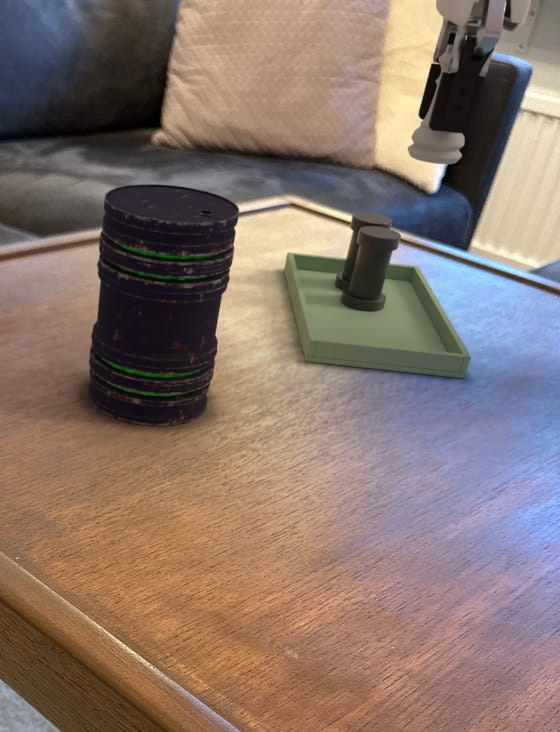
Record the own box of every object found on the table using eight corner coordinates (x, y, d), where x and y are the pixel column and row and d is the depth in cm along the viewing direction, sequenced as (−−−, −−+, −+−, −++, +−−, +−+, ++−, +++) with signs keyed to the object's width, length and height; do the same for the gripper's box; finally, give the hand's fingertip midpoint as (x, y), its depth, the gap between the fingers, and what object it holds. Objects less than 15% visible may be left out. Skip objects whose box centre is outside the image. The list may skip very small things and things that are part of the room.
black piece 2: (380, 298, 101) (399, 228, 97) (386, 313, 98) (406, 241, 93) (337, 294, 101) (354, 223, 97) (342, 309, 98) (360, 236, 93)
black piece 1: (372, 282, 105) (390, 214, 101) (379, 296, 102) (398, 226, 97) (331, 278, 105) (348, 209, 101) (336, 292, 102) (353, 221, 97)
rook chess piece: (402, 149, 83) (430, 40, 78) (455, 155, 83) (486, 46, 78) (409, 161, 80) (439, 48, 75) (464, 167, 80) (498, 54, 75)
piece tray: (413, 284, 107) (418, 266, 106) (464, 378, 87) (471, 357, 86) (283, 270, 107) (287, 252, 106) (305, 361, 88) (310, 339, 86)
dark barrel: (61, 397, 78) (74, 198, 69) (131, 362, 84) (152, 176, 75) (165, 439, 74) (194, 233, 64) (230, 399, 80) (266, 207, 71)
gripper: (617, -162, 62) (515, 153, 73) (541, -157, 75) (464, 110, 86) (498, -173, 62) (415, 143, 74) (443, -167, 75) (379, 102, 87)
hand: (443, 123), depth 80 cm, fingers closed on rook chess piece, 3 cm apart
